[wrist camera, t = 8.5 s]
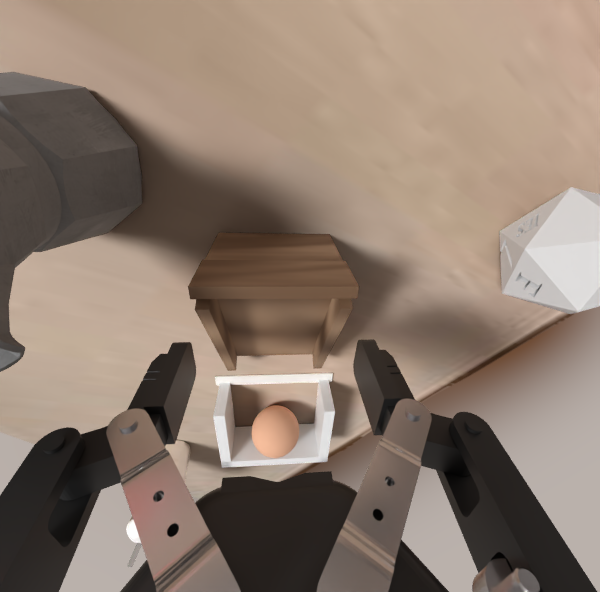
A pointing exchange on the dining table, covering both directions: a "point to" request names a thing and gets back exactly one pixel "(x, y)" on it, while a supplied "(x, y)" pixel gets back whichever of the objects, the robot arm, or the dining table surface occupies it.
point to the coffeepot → (57, 176)
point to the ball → (275, 431)
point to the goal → (238, 440)
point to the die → (555, 253)
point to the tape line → (273, 378)
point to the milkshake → (181, 460)
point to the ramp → (273, 295)
